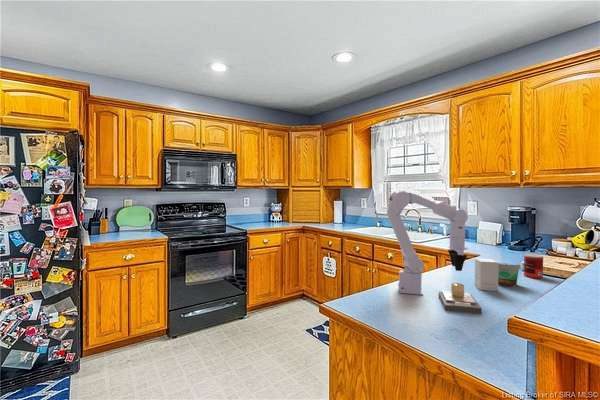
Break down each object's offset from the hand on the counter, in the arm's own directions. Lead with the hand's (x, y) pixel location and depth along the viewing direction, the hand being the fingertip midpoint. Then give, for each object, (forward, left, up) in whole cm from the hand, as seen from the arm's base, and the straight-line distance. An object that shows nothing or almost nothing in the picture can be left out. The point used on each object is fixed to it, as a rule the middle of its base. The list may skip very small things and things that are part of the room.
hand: (456, 268), depth 133 cm
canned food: (+42, +36, -11) cm, 56 cm away
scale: (-2, -15, -10) cm, 18 cm away
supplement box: (+14, +10, -11) cm, 20 cm away
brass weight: (-2, -14, -8) cm, 16 cm away
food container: (+24, +17, -11) cm, 31 cm away
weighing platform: (-2, -14, -8) cm, 16 cm away
